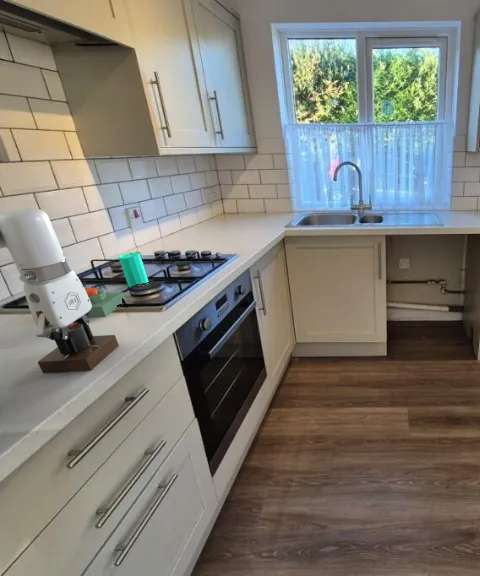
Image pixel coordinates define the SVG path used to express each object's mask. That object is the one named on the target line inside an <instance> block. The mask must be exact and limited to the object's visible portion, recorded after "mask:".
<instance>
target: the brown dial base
mask: <svg viewBox="0 0 480 576" xmlns="http://www.w3.org/2000/svg"><path fill="white" fill-rule="evenodd" d="M93 337H94V340H92V341H90V345H89V346H88V347H87V348H85V349H83V350H81V351H78V352H77V353H76V354H65V355H63V354H61V353H60V351H59V348H58V346H57V347H55V348H54V349H53V350H52V351H50V352H49V353H47V354H46V355H45V356H43V357H42V358H40V359H38V361H37V365H38V366H39V368H40V371H41V372H42V374H53V373H54V374H55V372H56V373H70V372H71V371H72V372H88V371H87V370H90V371H92V370H93V369H94V368H95V367H96V366H98V365H99V364H100V363H102V361H103V360H105V358H107V357H108V356H109V355H110V354H111V353H112V352H113V351H114V350H115V349H116V348H118V347H119V345H120V344H119V343H118V339H117V337H116V335H115V334H106V335H103V334H102V335H93Z"/></svg>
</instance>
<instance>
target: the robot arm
mask: <svg viewBox="0 0 480 576" xmlns="http://www.w3.org/2000/svg"><path fill="white" fill-rule="evenodd" d="M3 248H4V249H5V248H6V249H7V250H8V252H9V254H10V256H11V258H12V260H13V263H14V264H15V267H16V270H17V271H18V273H19V277H18V278H19V280H20V281H21V282H23V286H22V287H23V291H24V295H25V300H26V303H27V305H28V308H29V311H30V313H31V316H32V318H33V320H34V322H35V324H36V332H35V336H36V338H46V339H49V340H51V341H54V342H55V344H56V346H57V347H58V348H59V351H60V353H61V354H63V355H65V354H76V353H77V352H78V350H77V348H76V346H75V343H74V341H73V339H72V337H68V332H67V327H66V326H68V325H70V324H73V323H74V322H78V323H81V324H82V325H83V327H84V329H85V332H86V334H87V337H88V339H89V341H92V340H94V337H93V336H94V334H93V333H92V330H91V328H90V325H89V324H90V321H91V320H90V318H88V316H89V311H90V310H91V308H92V305H91V302H90V299H89V297H88V295H87V293H86V291H85V289H86V288H85V287H84V285H83V283H82V281H81V280H80V278H79V277H78V275H77V274H76V272H75V271H74V270H73V269H71V268H70V266H69V264H68V260H67V258H66V256H65V254H64V251H63V249H62V247H61V244H60V241H59V239H58V236H57V233H56V231H55V229H54V226H53V223H52V222H51V219H50V217H49V215H48V213H46V211H44V210H43V209H42V210H41V209H37V208H26V209H25V208H24V209H16V210H10V211H6V212H0V249H3ZM59 329H60V333H59V332H57V331H58V330H59Z"/></svg>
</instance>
